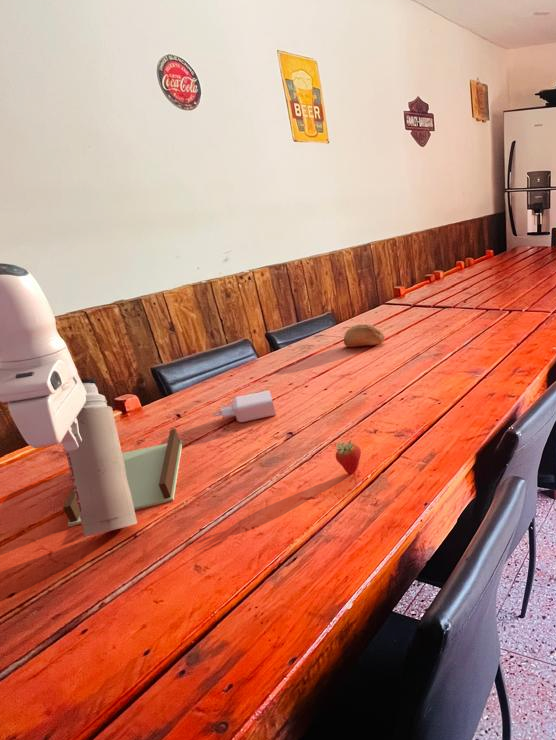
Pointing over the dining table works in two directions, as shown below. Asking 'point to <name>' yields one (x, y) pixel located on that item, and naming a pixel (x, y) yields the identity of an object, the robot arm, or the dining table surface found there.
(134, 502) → the tray
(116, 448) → the thermos bottle
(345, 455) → the fruit
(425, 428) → the dining table surface
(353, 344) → the bread roll
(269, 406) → the white nozzle bottle
